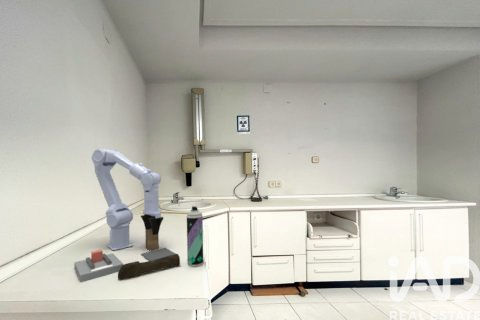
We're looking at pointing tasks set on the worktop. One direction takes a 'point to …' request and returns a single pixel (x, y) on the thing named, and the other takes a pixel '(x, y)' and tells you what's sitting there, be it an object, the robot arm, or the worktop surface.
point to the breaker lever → (97, 256)
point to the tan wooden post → (151, 240)
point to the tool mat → (158, 254)
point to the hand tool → (147, 266)
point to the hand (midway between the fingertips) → (152, 232)
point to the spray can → (194, 237)
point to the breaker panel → (97, 267)
